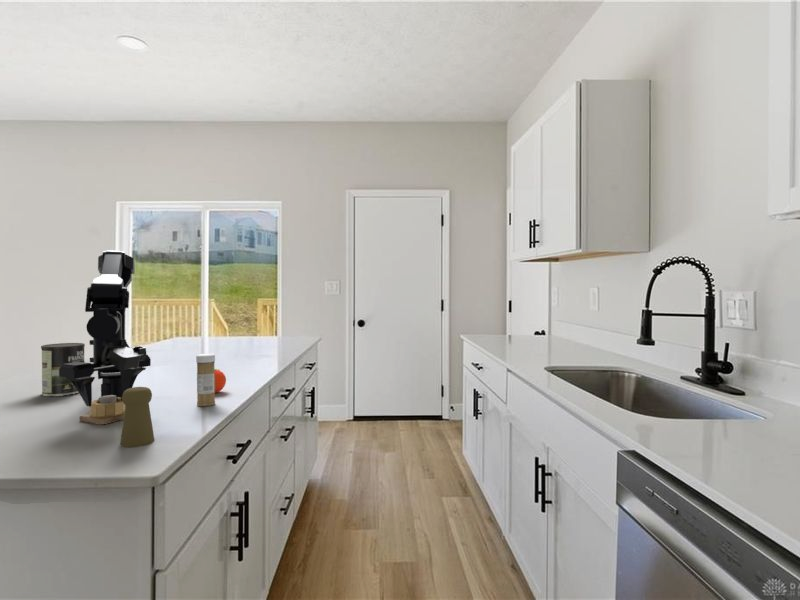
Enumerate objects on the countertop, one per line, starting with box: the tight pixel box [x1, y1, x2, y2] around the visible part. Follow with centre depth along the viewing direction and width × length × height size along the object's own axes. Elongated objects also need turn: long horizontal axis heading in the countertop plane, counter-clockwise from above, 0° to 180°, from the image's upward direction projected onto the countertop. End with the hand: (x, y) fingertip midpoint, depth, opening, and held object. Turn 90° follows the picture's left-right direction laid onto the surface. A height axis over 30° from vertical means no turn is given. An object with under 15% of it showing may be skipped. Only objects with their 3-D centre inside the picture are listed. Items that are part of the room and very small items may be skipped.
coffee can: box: [40, 342, 86, 397], centre depth 134 cm, size 10×10×14 cm
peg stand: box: [79, 395, 124, 425], centre depth 109 cm, size 8×8×5 cm
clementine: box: [214, 368, 227, 394], centre depth 137 cm, size 8×7×7 cm
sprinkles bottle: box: [195, 353, 216, 407], centre depth 122 cm, size 5×5×14 cm
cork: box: [119, 386, 155, 448], centre depth 92 cm, size 6×6×11 cm
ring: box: [89, 397, 126, 418], centre depth 109 cm, size 7×7×3 cm
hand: (108, 401), depth 109 cm, fingers open, 9 cm apart
